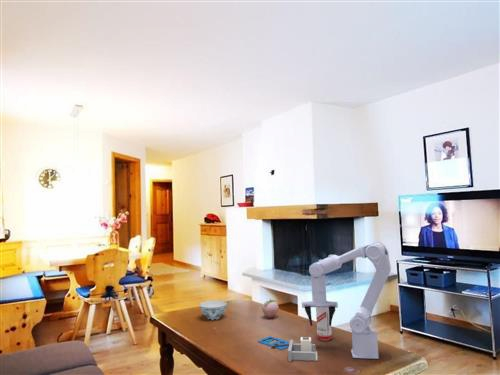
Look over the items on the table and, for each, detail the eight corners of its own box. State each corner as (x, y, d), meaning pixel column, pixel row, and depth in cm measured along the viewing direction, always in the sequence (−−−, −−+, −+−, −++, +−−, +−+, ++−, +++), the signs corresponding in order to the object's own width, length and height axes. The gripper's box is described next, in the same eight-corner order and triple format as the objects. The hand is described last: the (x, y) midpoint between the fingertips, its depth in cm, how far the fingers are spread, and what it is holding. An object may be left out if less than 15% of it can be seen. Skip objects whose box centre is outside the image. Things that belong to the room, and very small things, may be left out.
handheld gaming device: (281, 348, 148) (256, 340, 159) (282, 351, 148) (256, 342, 159) (295, 343, 154) (269, 335, 165) (295, 345, 153) (270, 337, 164)
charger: (311, 352, 143) (310, 336, 144) (311, 356, 140) (310, 340, 140) (301, 352, 144) (300, 336, 145) (301, 356, 140) (300, 339, 141)
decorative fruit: (268, 314, 201) (267, 296, 202) (281, 316, 196) (280, 297, 197) (259, 319, 193) (258, 299, 194) (272, 321, 189) (271, 301, 189)
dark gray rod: (295, 345, 153) (295, 342, 153) (295, 346, 152) (295, 343, 152) (271, 347, 151) (270, 345, 151) (271, 348, 150) (271, 346, 150)
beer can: (322, 335, 164) (320, 299, 165) (334, 338, 159) (332, 301, 161) (314, 339, 159) (312, 302, 161) (326, 342, 155) (324, 304, 156)
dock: (317, 350, 146) (316, 340, 147) (317, 362, 134) (316, 351, 135) (290, 349, 148) (290, 339, 148) (288, 361, 136) (287, 350, 137)
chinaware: (196, 316, 202) (196, 302, 202) (221, 312, 208) (221, 299, 209) (204, 323, 188) (204, 308, 189) (231, 319, 195) (231, 304, 195)
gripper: (336, 289, 153) (337, 322, 152) (301, 289, 155) (303, 322, 154) (337, 293, 146) (339, 327, 145) (301, 293, 148) (302, 327, 147)
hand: (320, 325), depth 149 cm, fingers open, 7 cm apart
